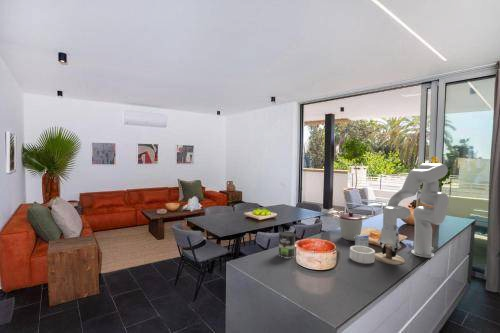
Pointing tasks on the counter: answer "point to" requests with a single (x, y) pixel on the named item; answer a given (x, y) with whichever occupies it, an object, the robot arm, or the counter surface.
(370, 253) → the cream bowl
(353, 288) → the counter surface
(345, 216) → the canister
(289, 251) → the coffee can
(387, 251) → the oak lid
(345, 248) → the counter surface
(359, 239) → the medicine box
